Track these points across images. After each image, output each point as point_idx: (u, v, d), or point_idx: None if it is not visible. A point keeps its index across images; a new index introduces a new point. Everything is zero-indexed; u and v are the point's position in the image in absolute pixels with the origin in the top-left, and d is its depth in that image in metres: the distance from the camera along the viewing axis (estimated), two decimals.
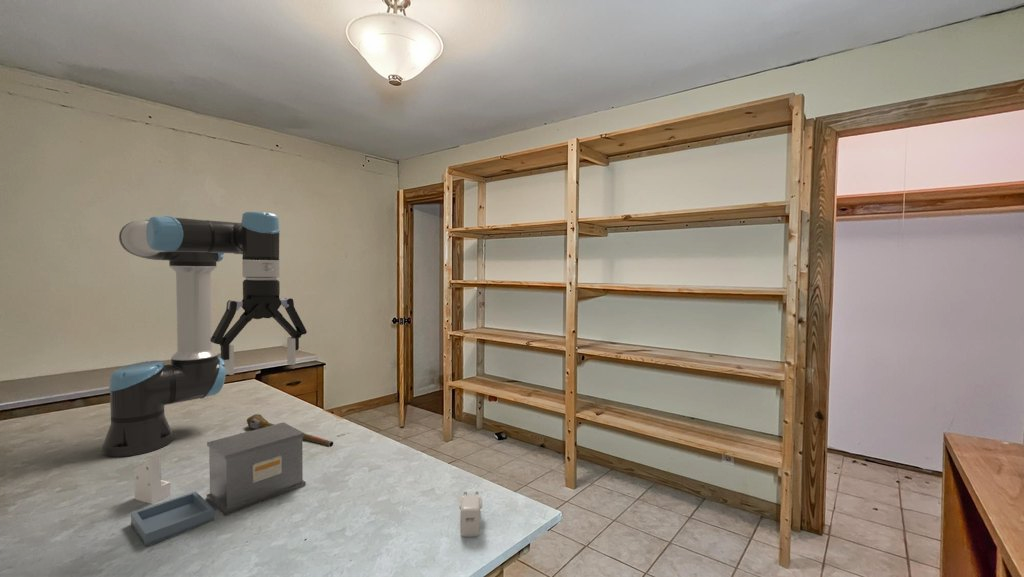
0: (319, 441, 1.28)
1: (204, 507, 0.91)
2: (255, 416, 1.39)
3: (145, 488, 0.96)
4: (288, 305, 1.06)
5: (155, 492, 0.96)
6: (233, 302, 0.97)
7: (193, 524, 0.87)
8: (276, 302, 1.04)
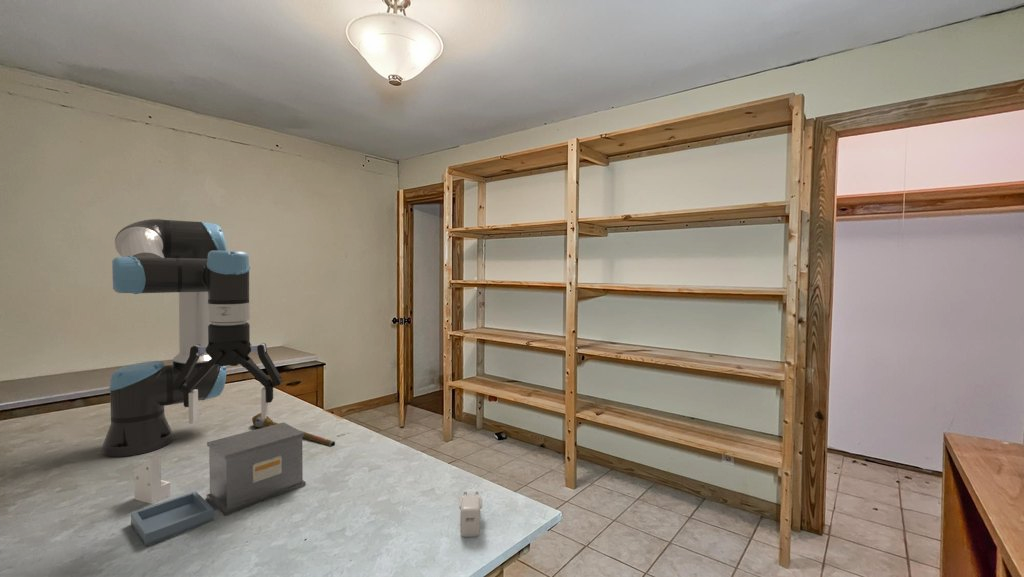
0: (321, 441, 1.29)
1: (204, 507, 0.91)
2: (260, 415, 1.40)
3: (145, 488, 0.96)
4: (257, 352, 0.95)
5: (155, 492, 0.96)
6: (192, 347, 0.91)
7: (193, 524, 0.87)
8: (242, 349, 0.94)
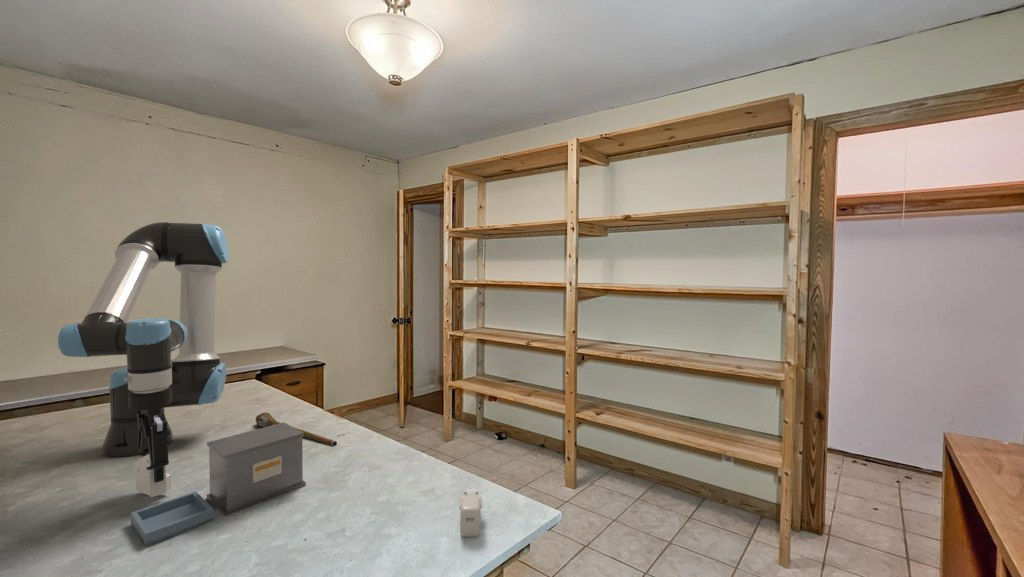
0: (323, 440, 1.29)
1: (204, 507, 0.91)
2: (263, 414, 1.41)
3: (146, 480, 0.96)
4: (151, 428, 0.93)
5: None
6: (136, 410, 1.00)
7: (193, 524, 0.87)
8: (148, 417, 0.95)
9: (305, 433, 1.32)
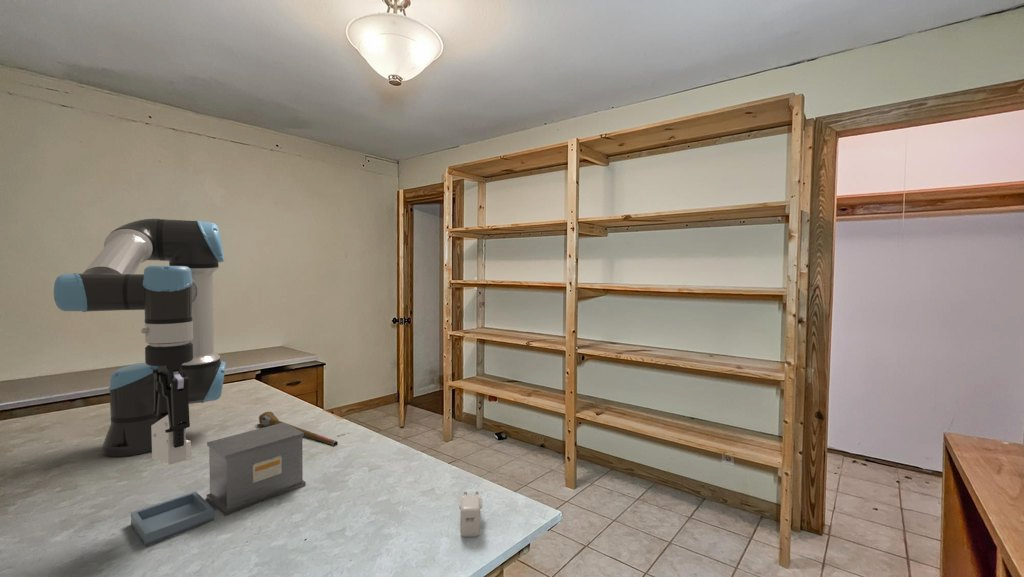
0: (324, 440, 1.29)
1: (204, 507, 0.91)
2: (266, 413, 1.41)
3: (164, 445, 0.86)
4: (171, 385, 0.83)
5: None
6: (153, 370, 0.90)
7: (193, 524, 0.87)
8: (167, 374, 0.84)
9: (307, 433, 1.33)
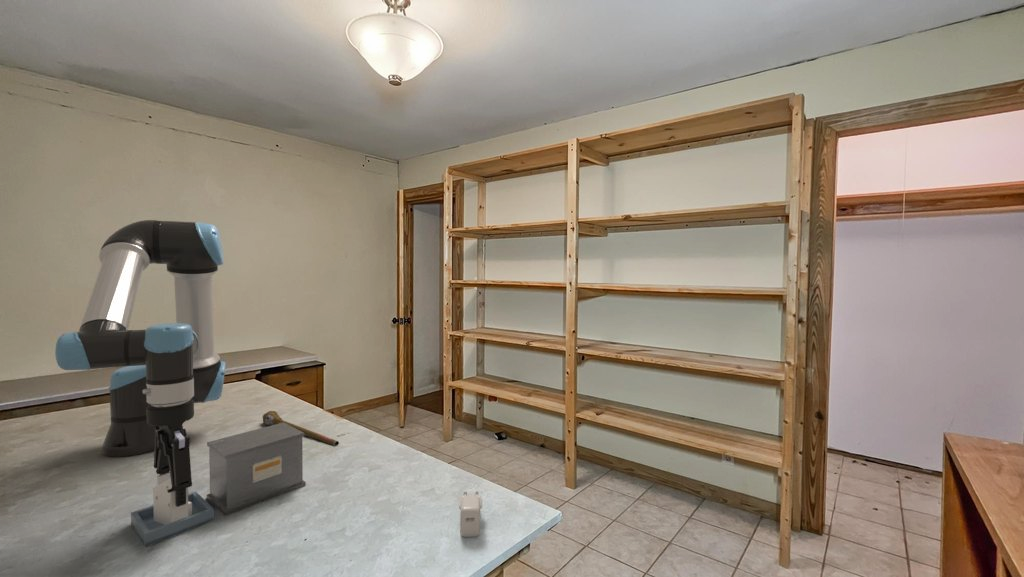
0: (325, 440, 1.29)
1: (204, 507, 0.91)
2: (270, 413, 1.42)
3: (165, 509, 0.87)
4: (172, 445, 0.84)
5: None
6: None
7: (193, 524, 0.87)
8: (168, 433, 0.85)
9: (309, 432, 1.33)
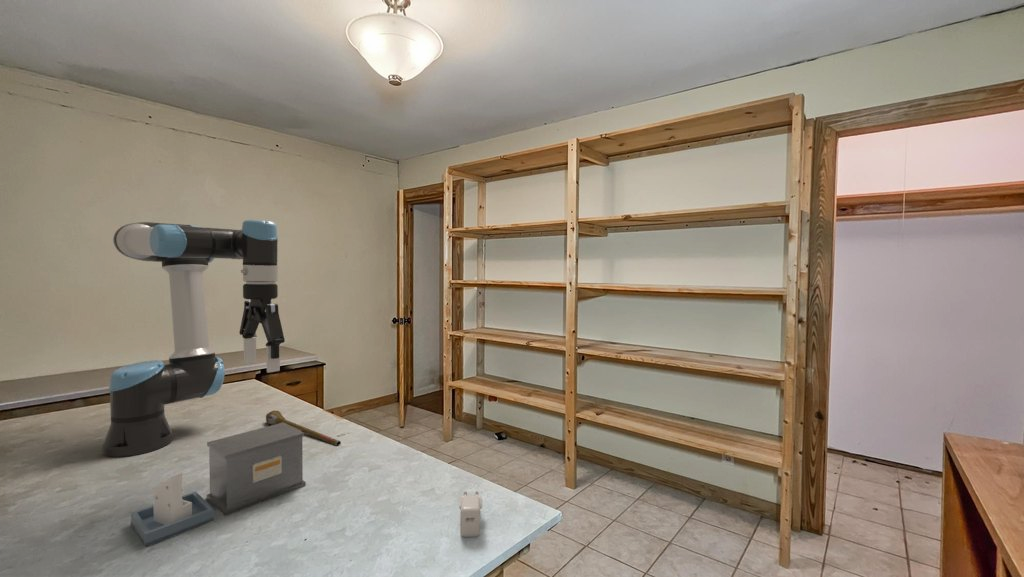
0: (327, 440, 1.29)
1: (204, 507, 0.91)
2: (273, 412, 1.43)
3: (165, 509, 0.87)
4: (265, 310, 1.05)
5: (176, 514, 0.87)
6: (244, 302, 1.12)
7: (193, 524, 0.87)
8: (260, 306, 1.07)
9: (311, 432, 1.33)
